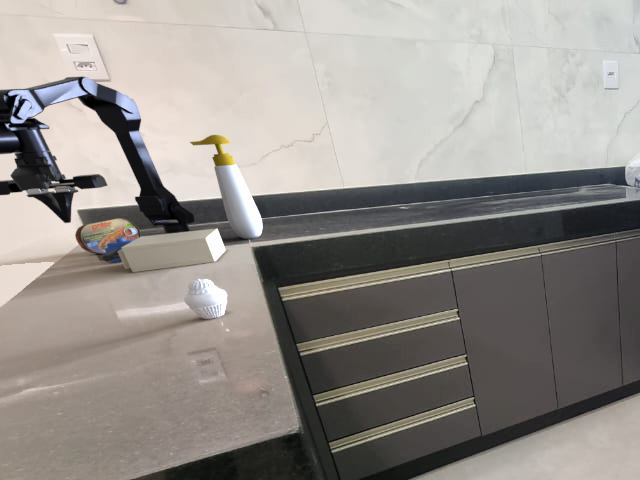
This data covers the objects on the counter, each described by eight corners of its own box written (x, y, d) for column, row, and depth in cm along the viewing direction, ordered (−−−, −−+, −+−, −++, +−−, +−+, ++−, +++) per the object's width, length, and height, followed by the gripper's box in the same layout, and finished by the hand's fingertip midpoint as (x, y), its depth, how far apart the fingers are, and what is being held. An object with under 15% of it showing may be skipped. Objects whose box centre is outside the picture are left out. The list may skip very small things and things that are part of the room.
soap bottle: (225, 237, 164) (187, 136, 151) (264, 232, 169) (230, 133, 157) (228, 244, 154) (187, 136, 142) (269, 237, 160) (233, 133, 147)
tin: (91, 256, 146) (75, 226, 142) (82, 256, 147) (66, 226, 143) (146, 244, 159) (133, 215, 156) (138, 244, 160) (125, 215, 156)
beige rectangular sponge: (132, 272, 128) (120, 247, 125) (151, 259, 140) (140, 236, 137) (215, 261, 134) (205, 237, 132) (225, 250, 146) (217, 228, 144)
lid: (117, 259, 142) (107, 238, 140) (147, 255, 145) (138, 235, 142) (111, 262, 138) (100, 241, 136) (141, 259, 141) (132, 238, 138)
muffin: (184, 323, 93) (167, 285, 90) (204, 311, 98) (189, 275, 95) (222, 320, 93) (207, 282, 90) (240, 308, 99) (226, 272, 96)
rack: (102, 271, 126) (93, 254, 124) (122, 259, 137) (114, 243, 135) (203, 259, 134) (196, 242, 132) (214, 248, 145) (208, 233, 143)
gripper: (-48, 157, 108) (-5, 233, 115) (71, 150, 115) (105, 223, 122) (-17, 154, 117) (21, 225, 124) (92, 148, 124) (122, 216, 131)
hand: (67, 222), depth 125 cm, fingers closed
